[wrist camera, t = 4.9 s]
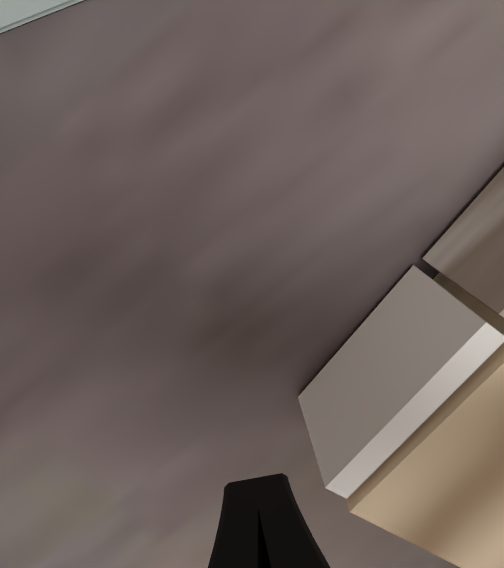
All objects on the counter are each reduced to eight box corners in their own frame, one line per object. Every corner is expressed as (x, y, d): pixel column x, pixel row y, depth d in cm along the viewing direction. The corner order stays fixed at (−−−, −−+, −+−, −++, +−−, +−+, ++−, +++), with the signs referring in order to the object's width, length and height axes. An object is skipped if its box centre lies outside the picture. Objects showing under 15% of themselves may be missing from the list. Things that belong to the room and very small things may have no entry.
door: (430, 277, 18) (507, 338, 13) (314, 406, 20) (346, 498, 15) (413, 264, 18) (486, 322, 13) (297, 397, 20) (325, 488, 15)
